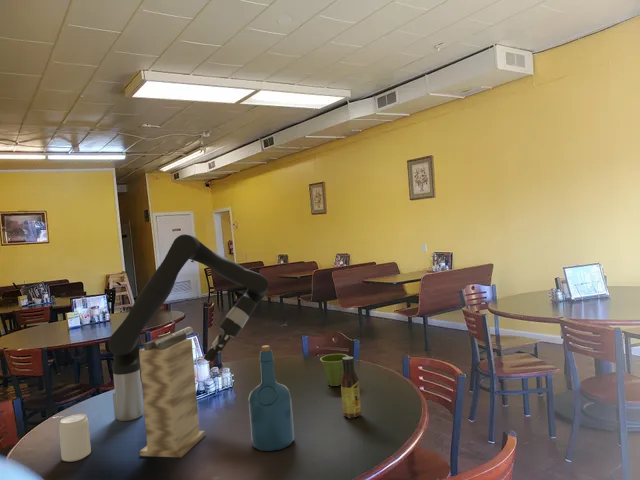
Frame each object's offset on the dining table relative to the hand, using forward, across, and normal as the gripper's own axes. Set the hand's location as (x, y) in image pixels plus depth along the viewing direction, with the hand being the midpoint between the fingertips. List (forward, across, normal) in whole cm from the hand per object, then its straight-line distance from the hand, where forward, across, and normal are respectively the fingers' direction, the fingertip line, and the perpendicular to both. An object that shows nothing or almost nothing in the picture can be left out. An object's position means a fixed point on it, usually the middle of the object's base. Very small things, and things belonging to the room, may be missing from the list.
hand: (207, 360), depth 167 cm
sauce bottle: (-10, +20, +50) cm, 54 cm away
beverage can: (+45, +1, -16) cm, 48 cm away
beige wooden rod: (+1, +12, -14) cm, 19 cm away
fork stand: (+27, +9, +6) cm, 29 cm away
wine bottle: (+11, +25, +28) cm, 40 cm away
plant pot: (-21, -12, +52) cm, 57 cm away
